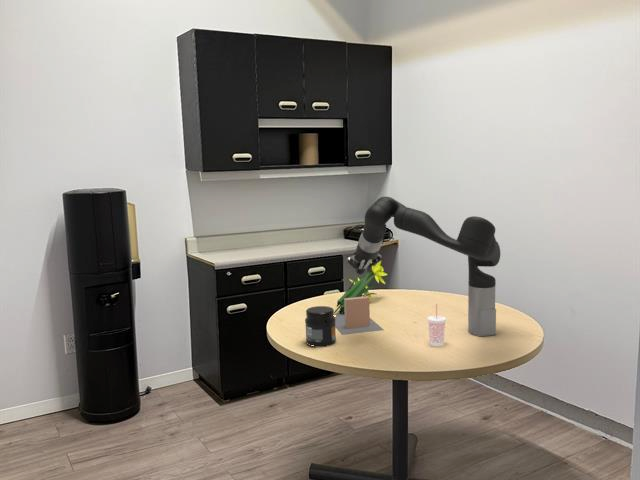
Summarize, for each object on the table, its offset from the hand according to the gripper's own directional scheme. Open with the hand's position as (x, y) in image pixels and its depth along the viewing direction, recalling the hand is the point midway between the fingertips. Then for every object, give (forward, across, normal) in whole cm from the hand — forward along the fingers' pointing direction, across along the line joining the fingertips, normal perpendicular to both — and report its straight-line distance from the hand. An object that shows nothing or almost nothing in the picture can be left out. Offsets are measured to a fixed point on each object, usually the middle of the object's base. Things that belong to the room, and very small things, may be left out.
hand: (359, 272), depth 211 cm
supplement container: (+13, -16, -20) cm, 29 cm away
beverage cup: (+3, +21, -30) cm, 36 cm away
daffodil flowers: (+40, +11, +9) cm, 43 cm away
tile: (+21, +1, -11) cm, 23 cm away
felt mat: (+25, +1, -7) cm, 26 cm away
